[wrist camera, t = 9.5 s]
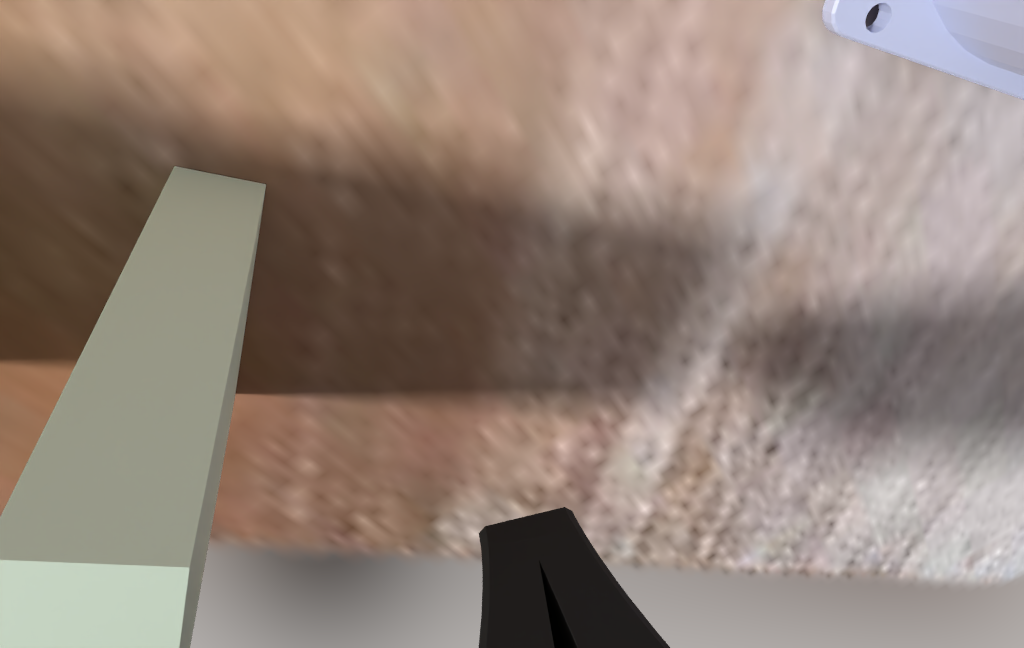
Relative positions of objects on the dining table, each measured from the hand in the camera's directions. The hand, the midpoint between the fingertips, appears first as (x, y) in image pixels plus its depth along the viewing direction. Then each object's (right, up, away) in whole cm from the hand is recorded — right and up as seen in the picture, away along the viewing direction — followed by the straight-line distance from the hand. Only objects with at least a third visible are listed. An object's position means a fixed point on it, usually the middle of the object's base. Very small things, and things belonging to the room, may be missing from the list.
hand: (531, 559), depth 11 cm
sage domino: (-6, +4, +4) cm, 9 cm away
